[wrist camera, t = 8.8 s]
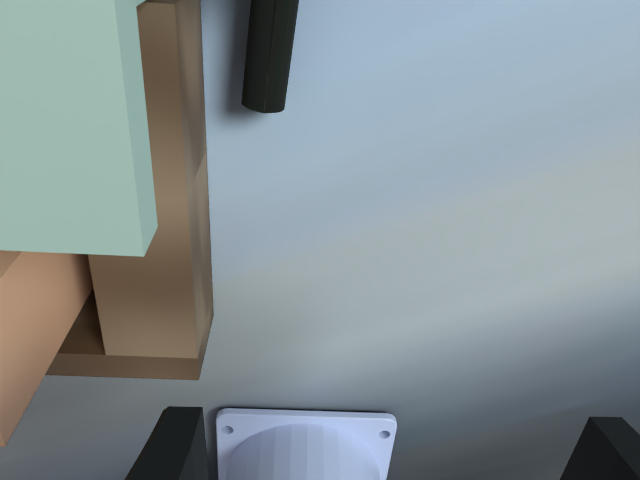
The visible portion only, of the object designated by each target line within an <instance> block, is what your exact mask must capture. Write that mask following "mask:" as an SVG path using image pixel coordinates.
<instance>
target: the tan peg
mask: <svg viewBox="0 0 640 480" xmlns="http://www.w3.org/2000/svg"><path fill="white" fill-rule="evenodd" d="M92 288H93V281H92V276H91V270H90V265H89V259H88V254H73V253H51V252H28V251H6V250H0V446H1V447H5V446H6V444H7V443H8V441H9V439H10V437H11V435H12V434H13V432H14V430H15V428H16V426H17V424H18V423H19V421H20V419H21V417H22V415H23V414H24V412H25V410H26V408H27V406H28V405H29V403H30V401H31V399H32V397H33V395H34V394H35V392H36V390H37V388H38V386H39V385H40V383H41V381H42V379H43V377H44V376H45V374H46V372H47V370H48V368H49V366H50V365H51V363H52V361H53V359H54V357H55V356H56V354H57V352H58V350H59V348H60V347H61V345H62V343H63V341H64V339H65V337H66V336H67V334H68V332H69V330H70V328H71V327H72V325H73V323H74V321H75V319H76V318H77V316H78V314H79V312H80V310H81V308H82V307H83V305H84V303H85V301H86V299H87V298H88V296H89V294H90V292H91V290H92Z"/></svg>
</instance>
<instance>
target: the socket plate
mask: <svg viewBox="0 0 640 480" xmlns="http://www.w3.org/2000/svg"><path fill="white" fill-rule="evenodd" d="M136 9H137V20H138V30H139V40H140V50H141V60H142V71H143V81H144V91H145V101H146V111H147V122H148V132H149V142H150V152H151V162H152V172H153V183H154V193H155V203H156V213H157V223H158V227H157V230H156V232H155V234H154V236H153V238H152V241H151V243H150V245H149V247H148V249H147V252H146V254H145V256H144V257H141V256H118V255H96V254H88V259H89V265H90V270H91V276H92V281H93V287H94V290H91V292H90V294H89V296H88V298H87V299H86V301H85V303H84V305H83V307H82V308H81V310H80V312H79V314H78V316H77V318H76V319H75V321H74V323H73V325H72V327H71V328H70V330H69V332H68V334H67V336H66V337H65V339H64V341H63V343H62V345H61V347H60V348H59V350H58V352H57V354H56V356H55V357H54V359H53V361H52V363H51V365H50V366H49V368H48V370H47V372H46V374H45V375H63V376H92V377H122V378H151V379H181V380H199V377H200V373H201V368H202V364H203V359H204V355H205V351H206V346H207V342H208V337H209V333H210V328H211V324H212V320H213V315H214V314H213V290H212V267H211V243H210V219H209V196H208V172H207V148H206V125H205V101H204V77H203V54H202V30H201V7H200V0H146V1H144V2H142V3H141V4H139V5H138V6H136Z"/></svg>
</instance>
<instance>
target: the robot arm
mask: <svg viewBox="0 0 640 480" xmlns="http://www.w3.org/2000/svg"><path fill="white" fill-rule="evenodd" d="M226 426H230V427H226ZM396 429H397V423H396V418H395V417H394V416H393V415H391V414H388V413H365V412H333V411H301V410H270V409H238V408H225V409H222V410H220V411H219V412H218V413H217V418H216V435H217V457H218V479H219V480H386V478H387V473H388V468H389V463H390V458H391V453H392V448H393V443H394V438H395V433H396ZM382 431H383V432H382ZM208 477H209V474H208V463H207V452H206V441H205V430H204V419H203V407H172V406H169V407H167V408H166V409H165V410H163V412H162V414H161V416H160V418H159V420H158V422H157V424H156V426H155V428H154V430H153V431H152V433H151V435H150V437H149V439H148V441H147V443H146V444H145V446H144V448H143V450H142V451H141V453H140V455H139V457H138V458H137V460H136V462H135V463H134V465H133V467H132V468H131V470H130V472H129V473H128V475H127V477H126V478H125V480H208ZM560 480H640V435H639V434H638V433H637V432H636V431H635V430H634V429H633V428H632V427H631V426H630V425H629V424H628V423H627V422H626V421H625V420H624V419H623V418H622V417H589V419H588V421H587V423H586V425H585V428H584V430H583V432H582V434H581V436H580V438H579V440H578V442H577V444H576V447H575V449H574V451H573V453H572V455H571V457H570V459H569V461H568V463H567V466H566V468H565V470H564V472H563V474H562V476H561V478H560Z"/></svg>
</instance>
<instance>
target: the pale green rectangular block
mask: <svg viewBox="0 0 640 480" xmlns="http://www.w3.org/2000/svg"><path fill="white" fill-rule="evenodd" d="M144 1H146V0H0V250H6V251H28V252H51V253H73V254H96V255H118V256H141V257H144V256H145V254H146V252H147V249H148V247H149V245H150V243H151V241H152V238H153V236H154V234H155V232H156V230H157V227H158V223H157V213H156V203H155V193H154V183H153V172H152V162H151V152H150V142H149V132H148V122H147V111H146V101H145V91H144V81H143V71H142V60H141V50H140V40H139V30H138V20H137V9H136V6H138V5H139V4H141V3H142V2H144Z"/></svg>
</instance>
